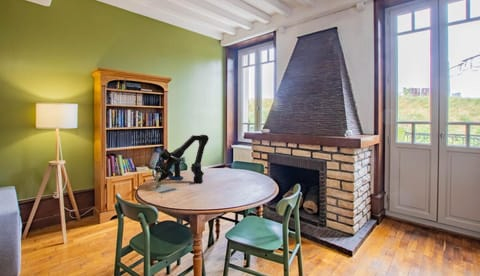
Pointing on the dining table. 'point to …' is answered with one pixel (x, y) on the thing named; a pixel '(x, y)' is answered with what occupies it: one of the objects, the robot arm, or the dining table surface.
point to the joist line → (167, 190)
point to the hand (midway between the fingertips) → (156, 181)
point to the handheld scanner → (177, 169)
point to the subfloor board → (163, 188)
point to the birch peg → (157, 176)
